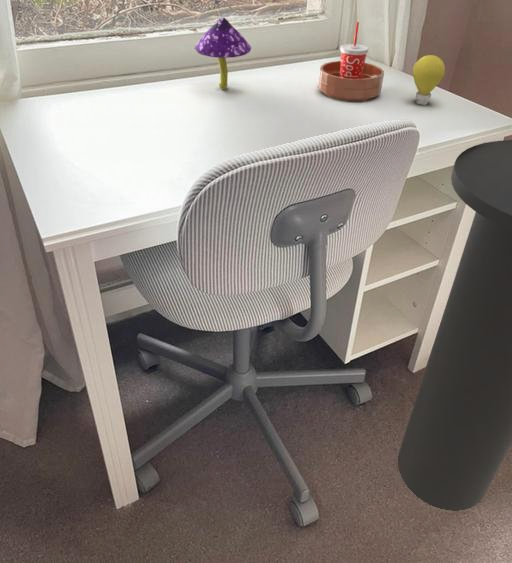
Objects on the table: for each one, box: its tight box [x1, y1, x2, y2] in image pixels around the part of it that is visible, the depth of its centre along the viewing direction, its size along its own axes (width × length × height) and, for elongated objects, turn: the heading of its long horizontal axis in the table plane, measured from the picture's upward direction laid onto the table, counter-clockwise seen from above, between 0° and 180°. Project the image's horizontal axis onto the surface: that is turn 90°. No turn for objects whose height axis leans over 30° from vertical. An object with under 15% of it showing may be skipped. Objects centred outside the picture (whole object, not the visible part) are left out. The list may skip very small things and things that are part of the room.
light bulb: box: [412, 54, 446, 106], centre depth 116 cm, size 7×7×10 cm
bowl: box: [317, 60, 385, 102], centre depth 122 cm, size 14×14×5 cm
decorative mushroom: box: [194, 17, 252, 90], centre depth 118 cm, size 12×12×15 cm
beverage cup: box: [340, 21, 370, 79], centre depth 119 cm, size 6×6×14 cm
